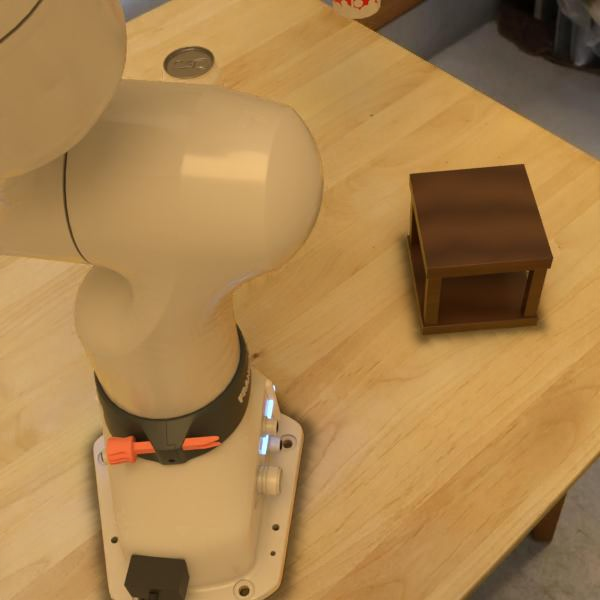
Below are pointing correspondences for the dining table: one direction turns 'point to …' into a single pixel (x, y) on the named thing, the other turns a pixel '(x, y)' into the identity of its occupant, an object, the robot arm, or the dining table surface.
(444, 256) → the shelf
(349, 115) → the dining table surface
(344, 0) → the beverage cup
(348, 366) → the dining table surface
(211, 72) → the can
